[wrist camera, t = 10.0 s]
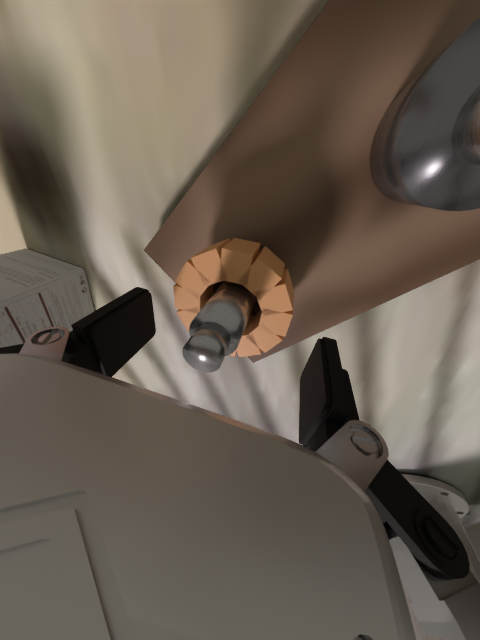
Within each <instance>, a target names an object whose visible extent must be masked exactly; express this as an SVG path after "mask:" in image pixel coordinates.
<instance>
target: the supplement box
mask: <svg viewBox="0 0 480 640" xmlns="http://www.w3.org/2000/svg"><path fill="white" fill-rule="evenodd" d="M92 312H94V307H93V302H92V298H91V294H90V289H89V285H88V281H87V277H86V273H85V270H84V269H83V268H80V267H77V266H74V265H72V264H69V263H66V262H63V261H60V260H57V259H54V258H51V257H49V256H46V255H43V254H40V253H37V252H34V251H31V250H29V249H22V250H18V251H14V252H10V253H5V254H1V255H0V348H1V347H7V346H13V345H18V344H24V343H25V341H26V339H27V338H28V337H29V336H30V335H31V334H33V333H34V332H36V331H38V330H41V329H44V328H48V327H57V326H59V327H65V328H67V329H68V330H69V332H71V331H72V330H73V329H72V326H71V325H72V324H73V323H75V322H77V321H79V320H80V319H82V318H84V317H85V316H87V315H89V314H91V313H92Z"/></svg>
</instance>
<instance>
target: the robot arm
mask: <svg viewBox="0 0 480 640" xmlns="http://www.w3.org/2000/svg"><path fill="white" fill-rule="evenodd" d="M71 326H72V329H73V330H72V331H71V332H69V330H68V329H67V328H65V327H59V326H57V327H48V328H44V329H41V330H38V331H36V332H34V333H33V334H31V335H30V336H29V337H28V338H27V339H26V341H25V343H24V344H18V345H13V346H7V347H1V348H0V640H480V561H479V559H478V557H477V555H476V553H475V551H474V549H473V546H472V544H471V542H470V540H469V538H468V536H467V534H466V532H465V529H464V527H463V525H462V523H461V521H460V519H459V518H462V517H463V516H465V515H466V514H467V513H468V511H469V506H468V503H467V501H466V499H465V497H464V496H463V495H462V493H461V492H459V491H458V490H457V489H456V488H454V487H452V486H450V485H448V484H446V483H443V482H441V481H438V480H435V479H431V478H428V477H423V476H418V475H410V474H401V473H400V472H399V471H398V470H397V469H396V468H395V467H394V466H393V465H392V464H391V463H390V462H389V461H388V460H387V458H388V455H389V454H388V448H387V445H386V443H385V441H384V439H383V438H382V436H381V435H380V434H379V433H378V432H377V431H376V430H375V429H374V428H373V427H371V426H370V425H369V424H367V423H365V422H363V421H359V416H358V412H357V408H356V404H355V400H354V395H353V391H352V387H351V383H350V379H349V374H348V372H347V371H346V370H344V369H342V366H341V361H340V356H339V351H338V347H337V342H336V340H334V339H330V338H327V337H323V338H322V339H318V340H317V342H316V344H315V347H314V349H313V351H312V353H311V355H310V357H309V359H308V362H307V364H306V366H305V368H304V370H303V372H302V375H301V378H300V412H299V443H300V444H303V446H302V445H300V444H298V443H295V442H293V441H291V440H288V439H286V438H283V437H281V436H278V435H275V434H273V433H270V432H267V431H264V430H262V429H259V428H256V427H254V426H251V425H248V424H245V423H243V422H240V421H237V420H234V419H231V418H228V417H225V416H222V415H220V414H217V413H214V412H211V411H208V410H205V409H202V408H200V407H197V406H194V405H191V404H188V403H185V402H182V401H179V400H176V399H174V398H171V397H168V396H165V395H162V394H159V393H156V392H153V391H150V390H147V389H144V388H141V387H138V386H136V385H133V384H130V383H127V382H124V381H121V380H118V379H115V378H112V376H113V375H114V374H115V373H116V372H117V371H118V370H119V369H120V368H121V367H122V366H123V365H124V364H125V363H127V362H128V361H129V360H130V359H131V358H132V357H133V356H134V355H135V354H136V353H137V352H138V351H139V350H140V349H141V348H142V347H143V346H144V345H145V344H146V343H147V342H148V341H149V340H150V339H151V338H152V337H153V336H154V335H155V332H156V329H155V321H154V312H153V304H152V296H151V293H149V291H148V290H147V289H143V288H139V287H136V288H134V289H132V290H131V291H129V292H127V293H125V294H124V295H122V296H120V297H118V298H117V299H115V300H113V301H112V302H110V303H108V304H106V305H105V306H103V307H101V308H99V309H98V310H96V311H94V312H92V313H91V314H89V315H87V316H85V317H84V318H82V319H80V320H79V321H77V322H75V323H73V324H72V325H71ZM356 636H358V637H356Z"/></svg>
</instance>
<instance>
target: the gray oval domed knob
mask: <svg viewBox="0 0 480 640" xmlns="http://www.w3.org/2000/svg"><path fill="white" fill-rule="evenodd" d="M370 172H371V176H372V179H373V182H374V184H375V185H376V187H377V189H378V190H379V191H380V192H381V193H382V194H383V195H384V196H386V197H387V198H389V199H391V200H394V201H397V202H401V203H406V204H412V205H417V206H422V207H427V208H433V209H438V210H444V211H467V210H474V209H479V208H480V17H479V18H478V19H477V20H476V21H474V22H473V23H472V24H471V25H470V26H469V27H468V28H467V29H466V30H465V31H464V32H463V33H462V34H461V35H459V36H458V37H457V38H456V39H455V40H454V41H453V42H452V43H451V44H450V45H449V46H448V47H447V48H446V49H445V50H443V51H442V52H441V53H440V54H439V55H438V56H437V57H436V58H435V59H434V60H433V61H432V62H431V63H430V64H428V65H427V66H426V67H425V68H424V69H423V70H422V71H421V72H420V73H419V74H418V75H417V76H416V77H415V78H414V79H412V80H411V81H410V82H409V83H408V84H407V85H406V86H405V87H404V88H403V89H402V91H401V92H400V93H399V94H398V95H397V96H396V98H395V99H394V100H393V102H392V103H391V104H390V106H389V107H388V109H387V110H386V112H385V114H384V115H383V117H382V119H381V121H380V123H379V125H378V127H377V130H376V132H375V135H374V138H373V142H372V146H371V151H370Z"/></svg>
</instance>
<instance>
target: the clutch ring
mask: <svg viewBox="0 0 480 640" xmlns="http://www.w3.org/2000/svg"><path fill="white" fill-rule="evenodd" d="M259 249H260V243H257V242H252V241H247V240H243V239H238V238H234V239H232V240H231V241H230V238H229V239H226V240H224V241H221V242H219V243H216V244H213V245H211V246H208V247H206V248H205V249H203V250H202V251H200V252H199V253H197V254H196V255H195V256H193V257H192V258H191V259H189V260H188V261H187V262H186V263H185V265H184V267H183V268H182V270H181V272H180V273H179V275H178V276H177V278H176V280H175V282H176V284H175V285H174V300H175V308H177V309H179V310H178V311H177V314H178V316H179V317H180V319H181V321H182V322H183V324H184V326H185V327H186V329H187V331H188V332H189V327H190V324H191V322H192V321H193V319H194V318H195V317H196V315H197V314H198V313H199V312H200V310H201V309H202V308H203V307H204V305H205V304H206V303H207V302H208V300H209V299H210V298H211V297H212V295H213V288H214V283H217V282H221V281H224V280H225V281H229V282H233V283H237V284H242V285H243V286H244V287H246V288H247V289H248V290H249V291H250V292H251V293H253V294H254V295H255V296H256V297H257V300H258V303H259V305H260V308H261V310H260V311H259V312H258V313H257V314H256V315H253V316H250V317H249V319H248V322H247V324H246V327H245V329H244V332H243V335H242V337H241V340H240V342H239V345H238V347H237V349H236V350H235V351H234V352H233V353H232V354H230V355H231V356H234V357H235V356H236V353H238V355H239V357H244V356H252V355H260V354H261V353H262V351H263V352H265V353H266V352H267V351H268V350H270V349H271V348H273V347H274V346H275V345H277V344H278V343H280V342H281V341H282V340H283V336H284V337H285V336H286V333H287V330H288V328H289V325H290V322H291V319H292V316H293V304H294V289H293V286H292V282H291V278H290V275H289V271H288V268H287V269H284V266H285V263H283V262H282V261H281V260H280V259H279V258H278V257H277V256H276V255H275V254H274V253H273V252H272V251H270V250H269V249H268V248H267V247H266V246H265V247H264V248H263V249H262V250H261V251H260V252H259Z"/></svg>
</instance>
